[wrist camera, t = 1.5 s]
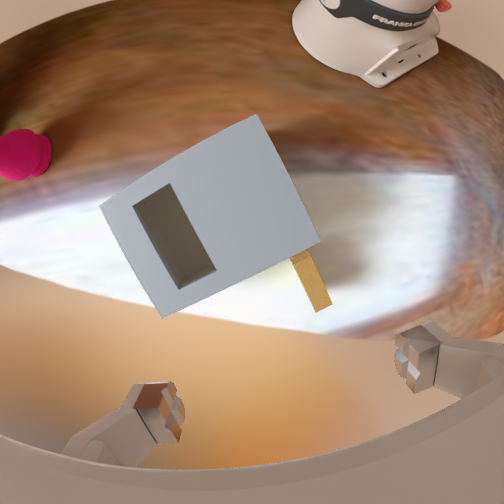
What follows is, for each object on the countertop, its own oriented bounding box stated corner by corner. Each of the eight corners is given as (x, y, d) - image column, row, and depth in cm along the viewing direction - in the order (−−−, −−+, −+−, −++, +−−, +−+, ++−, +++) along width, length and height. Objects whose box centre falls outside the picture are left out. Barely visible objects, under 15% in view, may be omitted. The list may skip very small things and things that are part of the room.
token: (300, 243, 34) (310, 255, 28) (320, 285, 35) (332, 304, 30) (286, 251, 34) (293, 264, 29) (306, 292, 36) (315, 312, 30)
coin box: (255, 134, 31) (256, 113, 22) (301, 225, 34) (321, 241, 24) (138, 199, 33) (99, 206, 23) (185, 283, 35) (162, 318, 26)
